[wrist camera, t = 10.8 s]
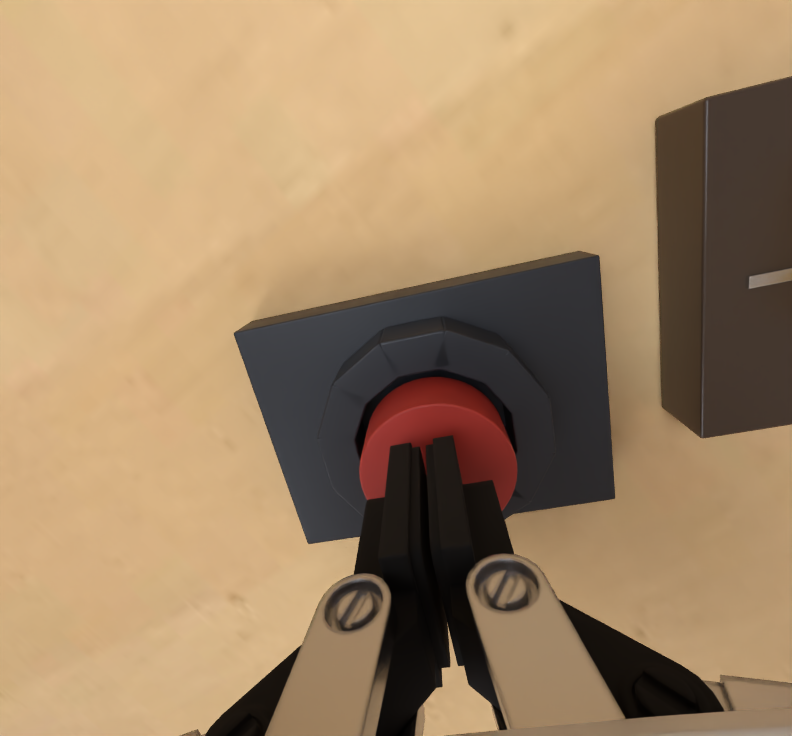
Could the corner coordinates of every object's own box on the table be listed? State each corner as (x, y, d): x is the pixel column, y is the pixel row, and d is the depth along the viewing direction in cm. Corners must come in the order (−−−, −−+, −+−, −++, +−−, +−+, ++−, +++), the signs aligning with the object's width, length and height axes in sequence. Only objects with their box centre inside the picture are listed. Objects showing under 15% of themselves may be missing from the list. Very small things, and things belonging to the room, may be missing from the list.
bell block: (580, 250, 15) (626, 261, 11) (598, 473, 18) (639, 533, 14) (250, 321, 16) (207, 348, 13) (317, 516, 19) (295, 580, 16)
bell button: (493, 363, 13) (506, 389, 11) (512, 486, 14) (527, 528, 12) (352, 390, 13) (341, 419, 12) (384, 505, 15) (378, 549, 13)
